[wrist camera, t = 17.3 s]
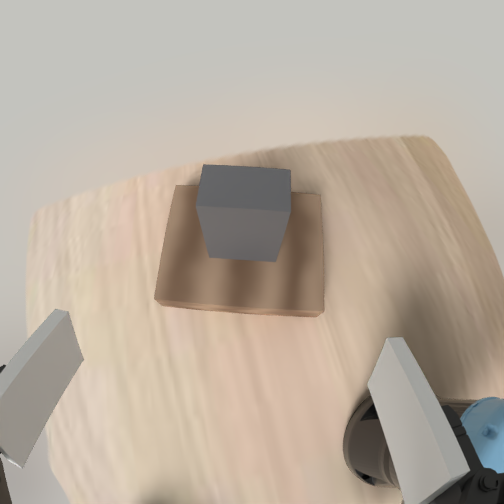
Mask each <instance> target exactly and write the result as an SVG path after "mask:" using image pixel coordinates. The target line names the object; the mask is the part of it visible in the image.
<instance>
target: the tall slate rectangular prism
mask: <svg viewBox="0 0 504 504" xmlns="http://www.w3.org/2000/svg"><path fill="white" fill-rule="evenodd" d="M196 209H197V213H198V217H199V221H200V225H201V229H202V233H203V236H204V240H205V244H206V248H207V251H208V255H209V258H221V259H236V260H251V261H266V262H276V260H277V256H278V253H279V250H280V246H281V243H282V240H283V237H284V233H285V230H286V227H287V223H288V220H289V217H290V213H291V176H290V170H286V169H274V168H261V167H246V166H228V165H203V168H202V174H201V179H200V184H199V190H198V195H197V201H196Z"/></svg>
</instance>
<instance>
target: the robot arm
mask: <svg viewBox="0 0 504 504" xmlns="http://www.w3.org/2000/svg"><path fill="white" fill-rule="evenodd" d="M83 360H84V359H83V356H82V353H81V350H80V347H79V344H78V341H77V338H76V335H75V332H74V329H73V325H72V322H71V319H70V315H69V312H68V311H63V310H58V309H55V310H54V311H53V312H52V313H51V314H50V315H49V316H48V318H47V319H46V320H45V321H44V322H43V323H42V324H41V325H40V326H39V328H38V329H37V330H36V331H35V332H34V333H33V334H32V335H31V337H30V338H29V339H28V340H27V341H26V342H25V344H24V345H23V346H22V347H21V348H20V350H19V351H18V352H17V353H16V354H15V356H14V357H13V358H12V359H11V360H10V362H9V363H8V364H7V365H3V366H1V367H0V453H2V454H3V455H4V456H5V457H6V458H7V459H8V460H9V461H10V462H12V463H14V464H15V465H17V466H18V467H20V468H23V467H24V465H25V463H26V461H27V459H28V457H29V455H30V453H31V451H32V449H33V447H34V445H35V443H36V441H37V439H38V437H39V435H40V434H41V432H42V430H43V428H44V426H45V424H46V422H47V421H48V419H49V417H50V415H51V413H52V412H53V410H54V408H55V406H56V405H57V403H58V401H59V399H60V398H61V396H62V394H63V393H64V391H65V389H66V388H67V386H68V384H69V383H70V381H71V379H72V378H73V376H74V374H75V373H76V371H77V370H78V368H79V366H80V365H81V363H82V362H83ZM367 385H368V388H369V391H370V393H371V396H369V397H368V398H367V399H366V400H365V401H364V402H363V403H362V404H361V405H360V406H359V407H358V409H357V410H356V411H355V413H354V414H353V416H352V418H351V419H350V421H349V424H348V426H347V429H346V432H345V436H344V442H343V452H344V458H345V461H346V464H347V466H348V467H349V469H350V470H351V472H352V473H353V474H354V475H356V476H357V477H358V478H359V479H361V480H362V481H363V482H365V483H367V484H370V485H373V486H377V487H394V488H398V489H400V490H401V492H402V496H403V500H402V504H504V399H500V398H498V397H487V398H482V399H480V400H461V399H441V398H440V397H438V396H437V395H435V394H434V392H433V391H432V389H431V387H430V385H429V383H428V381H427V379H426V377H425V376H424V374H423V372H422V370H421V368H420V367H419V365H418V363H417V361H416V359H415V358H414V356H413V354H412V352H411V351H410V349H409V347H408V346H407V344H406V342H405V340H404V339H403V337H392V338H387V339H386V341H385V344H384V346H383V349H382V351H381V354H380V356H379V358H378V361H377V363H376V366H375V368H374V370H373V372H372V375H371V377H370V379H369V381H368V384H367ZM0 504H12V501H11V498H10V494H9V491H8V487H7V482H6V478H5V473H4V470H3V465H2V461H1V458H0Z"/></svg>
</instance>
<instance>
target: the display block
mask: <svg viewBox="0 0 504 504" xmlns="http://www.w3.org/2000/svg"><path fill="white" fill-rule="evenodd" d="M198 190H199V186H185V185H176V187H175V191H174V195H173V200H172V204H171V209H170V213H169V218H168V223H167V228H166V233H165V238H164V243H163V249H162V254H161V260H160V265H159V271H158V277H157V284H156V290H155V297H154V299H155V300H156V301H157V302H158V303H160V304H161V305H162V306H167V307H176V308H186V309H196V310H207V311H219V312H231V313H245V314H260V315H278V316H299V317H317V316H318V315H320V314H321V313H322V312H324V259H323V232H322V212H321V196H320V195H317V194H307V193H296V192H291V213H290V217H289V220H288V223H287V227H286V230H285V233H284V237H283V240H282V243H281V246H280V250H279V253H278V256H277V260H276V262H266V261H251V260H236V259H221V258H209V255H208V251H207V248H206V244H205V240H204V236H203V233H202V229H201V225H200V221H199V217H198V213H197V209H196V201H197V195H198Z"/></svg>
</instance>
